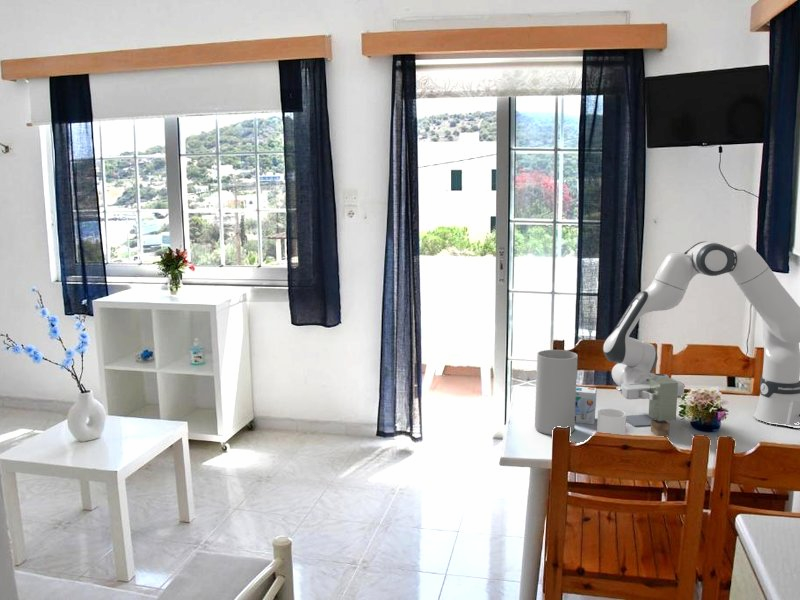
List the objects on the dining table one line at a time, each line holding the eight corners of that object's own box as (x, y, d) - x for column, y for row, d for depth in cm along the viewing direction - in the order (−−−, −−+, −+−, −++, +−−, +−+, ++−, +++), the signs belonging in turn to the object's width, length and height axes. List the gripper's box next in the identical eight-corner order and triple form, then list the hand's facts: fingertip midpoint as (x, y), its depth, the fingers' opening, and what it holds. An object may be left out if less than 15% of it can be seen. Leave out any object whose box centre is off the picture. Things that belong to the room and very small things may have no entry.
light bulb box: (561, 421, 247) (562, 390, 246) (563, 415, 254) (564, 384, 252) (594, 424, 244) (596, 393, 243) (595, 418, 251) (596, 387, 249)
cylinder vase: (527, 425, 243) (530, 351, 239) (561, 421, 247) (564, 348, 243) (546, 438, 231) (549, 360, 227) (581, 434, 235) (585, 357, 231)
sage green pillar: (665, 413, 239) (667, 377, 237) (675, 419, 233) (677, 382, 231) (648, 415, 238) (650, 378, 236) (658, 420, 232) (660, 383, 230)
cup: (600, 449, 222) (601, 417, 220) (590, 435, 234) (592, 404, 232) (627, 449, 222) (629, 417, 220) (616, 435, 234) (618, 405, 232)
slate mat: (646, 415, 254) (646, 414, 254) (662, 425, 244) (662, 423, 244) (619, 417, 252) (619, 416, 252) (634, 426, 242) (634, 425, 242)
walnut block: (662, 431, 239) (662, 419, 238) (668, 435, 235) (669, 423, 234) (650, 431, 238) (651, 419, 237) (657, 436, 234) (657, 423, 233)
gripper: (614, 377, 244) (634, 389, 231) (670, 373, 248) (694, 385, 235) (613, 396, 245) (633, 408, 232) (669, 392, 249) (693, 404, 236)
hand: (664, 396), depth 233 cm, fingers closed on sage green pillar, 6 cm apart
